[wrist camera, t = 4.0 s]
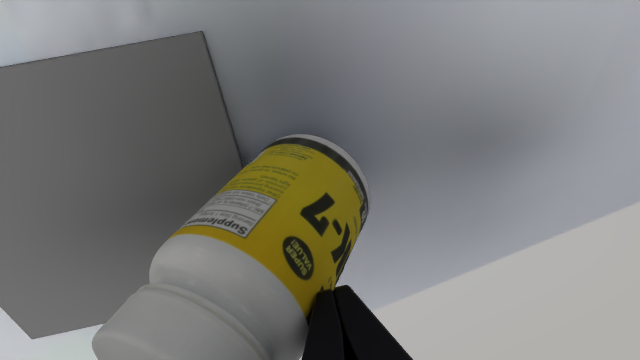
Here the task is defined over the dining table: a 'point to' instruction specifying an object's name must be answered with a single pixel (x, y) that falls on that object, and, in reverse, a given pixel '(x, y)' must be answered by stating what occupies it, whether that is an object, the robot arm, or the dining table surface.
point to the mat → (103, 173)
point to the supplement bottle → (248, 262)
